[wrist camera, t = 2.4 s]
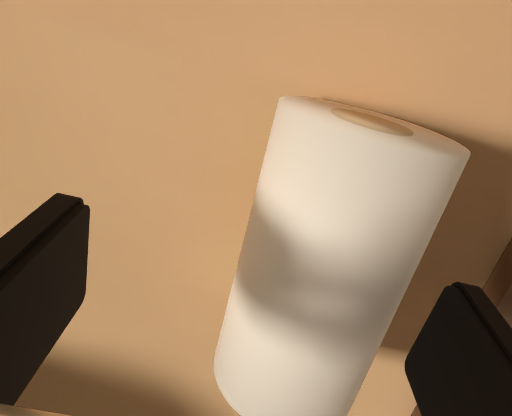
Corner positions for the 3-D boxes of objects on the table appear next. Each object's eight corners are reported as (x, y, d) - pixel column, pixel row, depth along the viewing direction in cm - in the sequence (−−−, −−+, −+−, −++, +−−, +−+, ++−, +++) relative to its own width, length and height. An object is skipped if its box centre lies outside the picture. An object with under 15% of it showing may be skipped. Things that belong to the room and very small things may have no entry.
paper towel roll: (298, 313, 19) (380, 410, 15) (191, 336, 16) (257, 464, 12) (370, 105, 15) (511, 159, 11) (245, 85, 12) (373, 149, 8)
